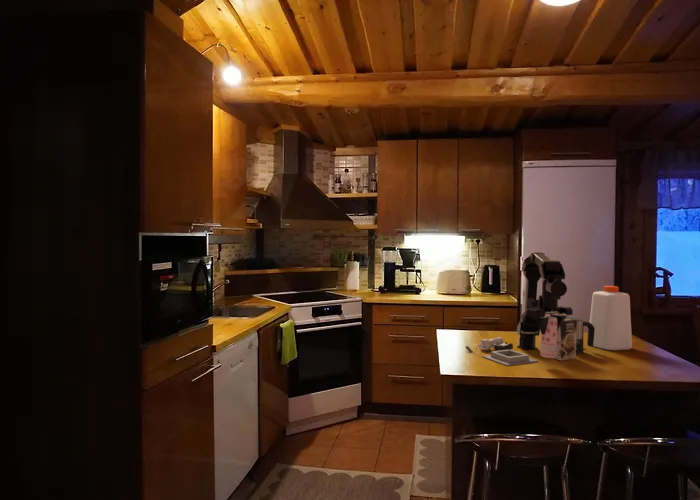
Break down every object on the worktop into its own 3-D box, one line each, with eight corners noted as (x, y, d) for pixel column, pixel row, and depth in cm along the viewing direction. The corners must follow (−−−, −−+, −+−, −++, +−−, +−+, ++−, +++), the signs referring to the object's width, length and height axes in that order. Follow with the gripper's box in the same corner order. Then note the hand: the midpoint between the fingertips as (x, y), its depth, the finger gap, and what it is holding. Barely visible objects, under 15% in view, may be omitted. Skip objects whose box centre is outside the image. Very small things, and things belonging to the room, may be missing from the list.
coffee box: (561, 360, 188) (562, 321, 187) (548, 357, 193) (549, 318, 193) (576, 358, 192) (577, 319, 191) (563, 354, 198) (564, 317, 197)
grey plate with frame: (511, 353, 198) (512, 347, 198) (537, 361, 185) (537, 355, 185) (482, 357, 192) (482, 351, 191) (506, 366, 179) (507, 359, 179)
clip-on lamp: (476, 363, 194) (515, 352, 197) (473, 349, 193) (513, 338, 196) (464, 353, 205) (501, 343, 208) (461, 340, 204) (499, 330, 207)
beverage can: (547, 358, 175) (548, 318, 174) (537, 354, 180) (538, 316, 180) (559, 357, 176) (560, 318, 176) (549, 353, 182) (550, 315, 181)
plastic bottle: (608, 342, 223) (610, 284, 222) (636, 349, 209) (638, 287, 208) (583, 344, 218) (585, 284, 218) (610, 351, 204) (612, 288, 203)
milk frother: (568, 354, 198) (569, 320, 198) (546, 345, 214) (546, 313, 213) (597, 353, 201) (598, 319, 201) (573, 344, 217) (574, 313, 216)
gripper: (550, 290, 189) (549, 328, 189) (515, 291, 181) (514, 331, 181) (574, 293, 179) (572, 333, 179) (538, 295, 171) (537, 337, 171)
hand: (548, 333), depth 178 cm, fingers closed on beverage can, 6 cm apart
